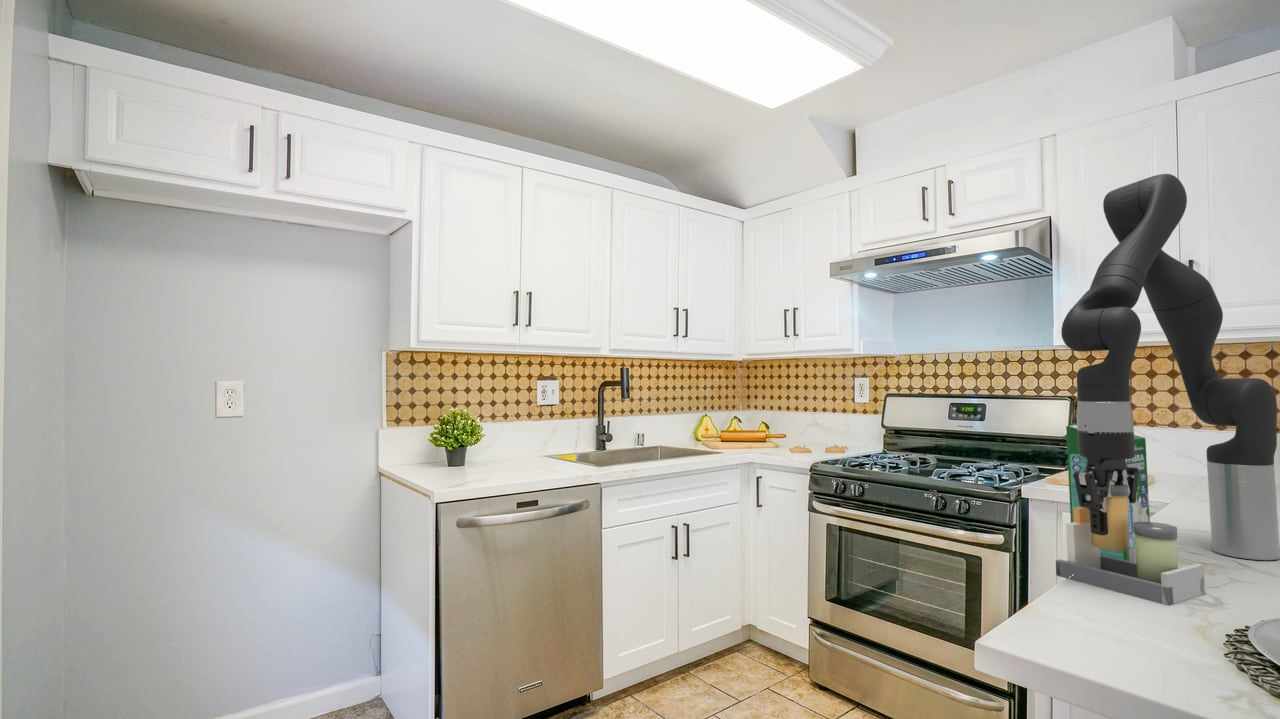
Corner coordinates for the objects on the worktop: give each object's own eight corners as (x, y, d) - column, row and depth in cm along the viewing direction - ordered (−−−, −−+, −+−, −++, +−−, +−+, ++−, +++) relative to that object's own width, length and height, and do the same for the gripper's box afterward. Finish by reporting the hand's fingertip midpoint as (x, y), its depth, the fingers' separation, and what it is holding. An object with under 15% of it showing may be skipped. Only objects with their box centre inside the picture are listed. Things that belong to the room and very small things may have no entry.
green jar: (1148, 584, 99) (1145, 520, 100) (1187, 594, 94) (1184, 527, 95) (1129, 589, 97) (1126, 524, 97) (1169, 600, 92) (1165, 531, 93)
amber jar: (1102, 541, 105) (1100, 480, 106) (1137, 548, 100) (1134, 485, 101) (1083, 544, 103) (1081, 483, 103) (1118, 552, 98) (1115, 487, 99)
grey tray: (1092, 571, 109) (1090, 541, 109) (1205, 599, 94) (1203, 564, 95) (1056, 580, 105) (1055, 549, 105) (1169, 610, 90) (1167, 574, 90)
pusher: (1093, 567, 107) (1090, 504, 108) (1101, 569, 106) (1097, 505, 107) (1068, 573, 104) (1065, 508, 105) (1076, 575, 103) (1072, 510, 104)
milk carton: (1126, 568, 110) (1119, 427, 111) (1071, 556, 118) (1065, 425, 119) (1152, 561, 114) (1145, 425, 115) (1097, 549, 122) (1091, 422, 123)
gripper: (1105, 425, 109) (1110, 523, 108) (1054, 429, 103) (1058, 532, 102) (1155, 428, 102) (1160, 532, 101) (1103, 432, 96) (1108, 542, 95)
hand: (1109, 531), depth 102 cm, fingers closed on amber jar, 5 cm apart
